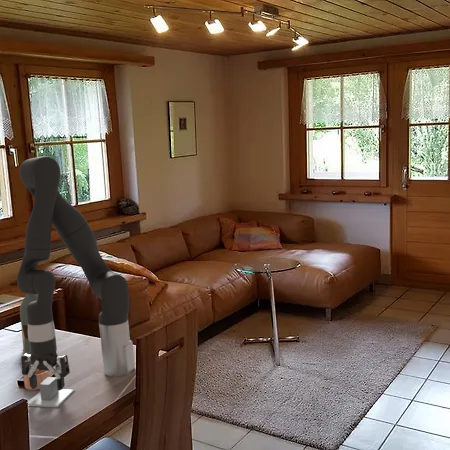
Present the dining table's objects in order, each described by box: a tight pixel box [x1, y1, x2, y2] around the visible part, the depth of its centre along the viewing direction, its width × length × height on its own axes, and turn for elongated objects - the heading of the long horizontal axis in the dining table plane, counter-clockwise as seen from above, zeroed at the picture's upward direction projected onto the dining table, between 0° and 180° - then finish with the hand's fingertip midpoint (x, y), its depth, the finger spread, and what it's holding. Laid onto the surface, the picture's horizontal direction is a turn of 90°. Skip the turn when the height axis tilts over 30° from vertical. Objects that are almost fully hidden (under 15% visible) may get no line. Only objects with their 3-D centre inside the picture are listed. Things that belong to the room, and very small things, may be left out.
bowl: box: [22, 366, 52, 391], centre depth 185 cm, size 8×8×5 cm
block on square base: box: [27, 376, 75, 408], centre depth 174 cm, size 10×10×6 cm
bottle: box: [19, 293, 38, 365], centre depth 204 cm, size 9×9×30 cm
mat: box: [28, 390, 76, 409], centre depth 175 cm, size 11×11×1 cm
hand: (47, 388), depth 174 cm, fingers open, 8 cm apart
